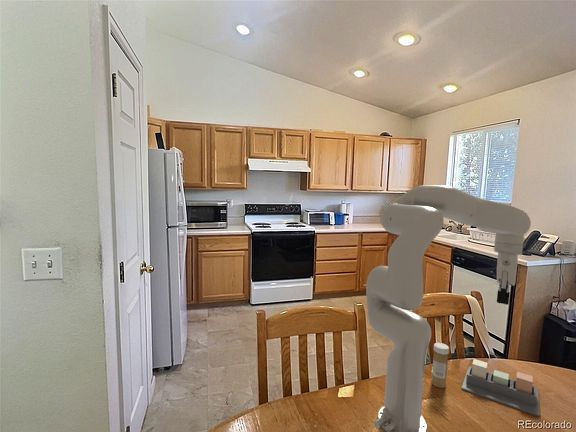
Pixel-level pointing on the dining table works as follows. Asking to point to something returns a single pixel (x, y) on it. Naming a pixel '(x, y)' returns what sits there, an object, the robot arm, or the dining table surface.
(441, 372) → the sprinkles bottle
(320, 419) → the dining table surface
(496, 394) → the button panel
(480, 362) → the cream button
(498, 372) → the green button
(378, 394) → the dining table surface
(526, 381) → the terracotta button
